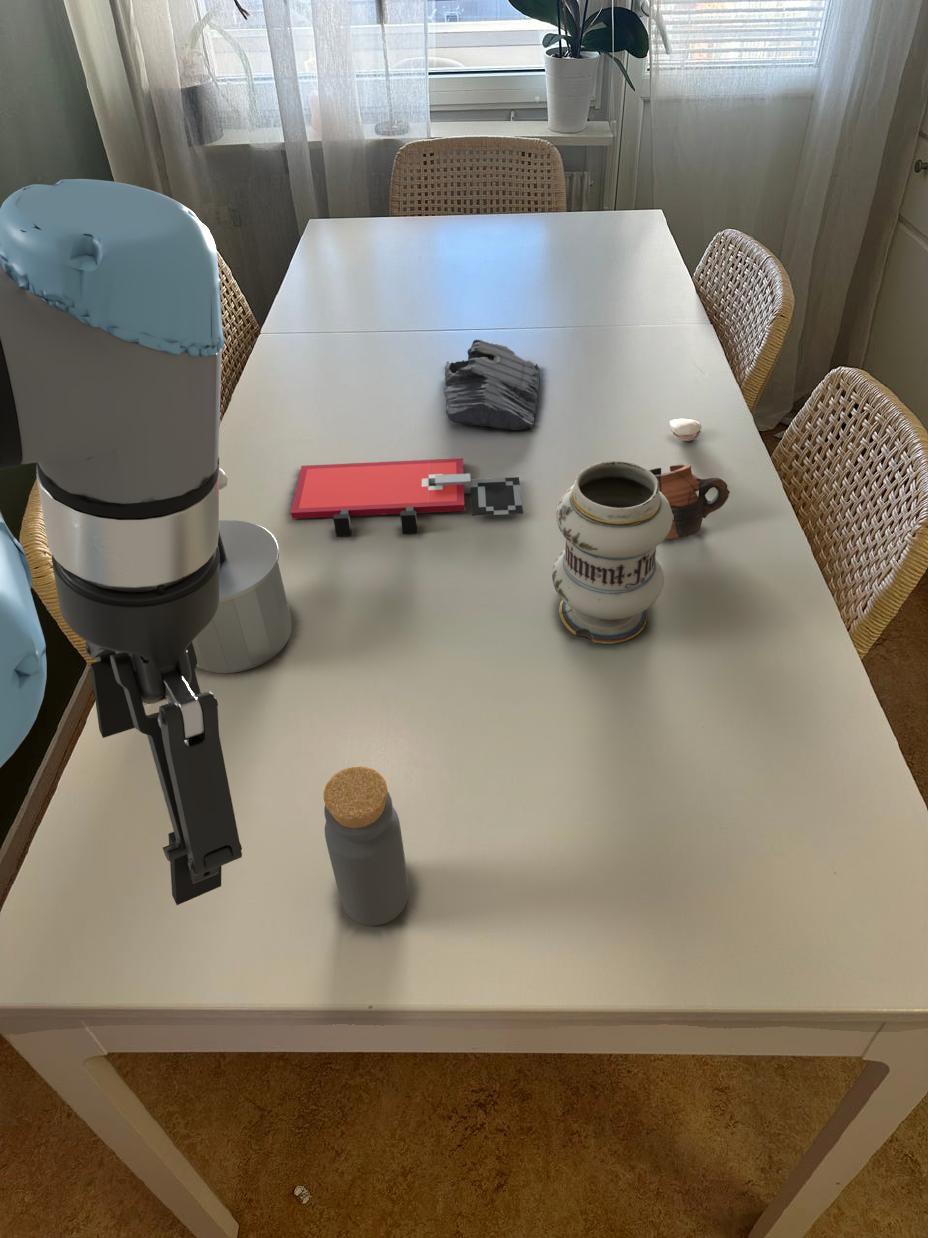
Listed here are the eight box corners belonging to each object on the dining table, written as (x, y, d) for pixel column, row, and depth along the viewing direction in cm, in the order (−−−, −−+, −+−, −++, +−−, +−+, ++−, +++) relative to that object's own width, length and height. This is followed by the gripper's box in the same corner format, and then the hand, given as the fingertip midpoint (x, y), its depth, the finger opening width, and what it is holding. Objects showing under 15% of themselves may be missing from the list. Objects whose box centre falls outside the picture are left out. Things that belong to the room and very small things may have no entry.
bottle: (408, 861, 76) (394, 756, 66) (410, 924, 72) (395, 822, 62) (342, 866, 76) (317, 762, 66) (339, 929, 72) (312, 828, 61)
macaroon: (684, 447, 123) (687, 432, 121) (659, 433, 126) (661, 417, 124) (705, 437, 125) (708, 422, 123) (679, 423, 128) (682, 408, 126)
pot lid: (132, 604, 87) (112, 553, 83) (179, 524, 97) (163, 474, 92) (259, 612, 86) (245, 561, 81) (294, 530, 95) (284, 480, 91)
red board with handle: (524, 528, 110) (516, 464, 121) (524, 509, 108) (516, 446, 119) (288, 538, 110) (303, 474, 121) (284, 520, 108) (299, 456, 120)
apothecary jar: (533, 632, 97) (538, 500, 84) (572, 568, 104) (582, 438, 92) (638, 665, 93) (659, 531, 80) (670, 596, 100) (694, 464, 88)
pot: (164, 669, 94) (136, 597, 87) (202, 593, 103) (180, 522, 96) (274, 677, 93) (255, 605, 86) (304, 599, 102) (289, 528, 94)
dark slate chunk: (431, 433, 128) (430, 404, 124) (447, 362, 144) (446, 335, 140) (536, 435, 126) (537, 406, 123) (540, 364, 142) (541, 336, 139)
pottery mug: (638, 547, 108) (626, 482, 106) (637, 533, 116) (625, 472, 114) (738, 528, 105) (727, 461, 103) (729, 514, 114) (719, 452, 112)
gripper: (329, 703, 36) (296, 943, 50) (130, 400, 50) (148, 656, 64) (148, 765, 32) (168, 1006, 46) (-15, 418, 46) (39, 686, 60)
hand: (156, 804), depth 55 cm, fingers open, 13 cm apart
